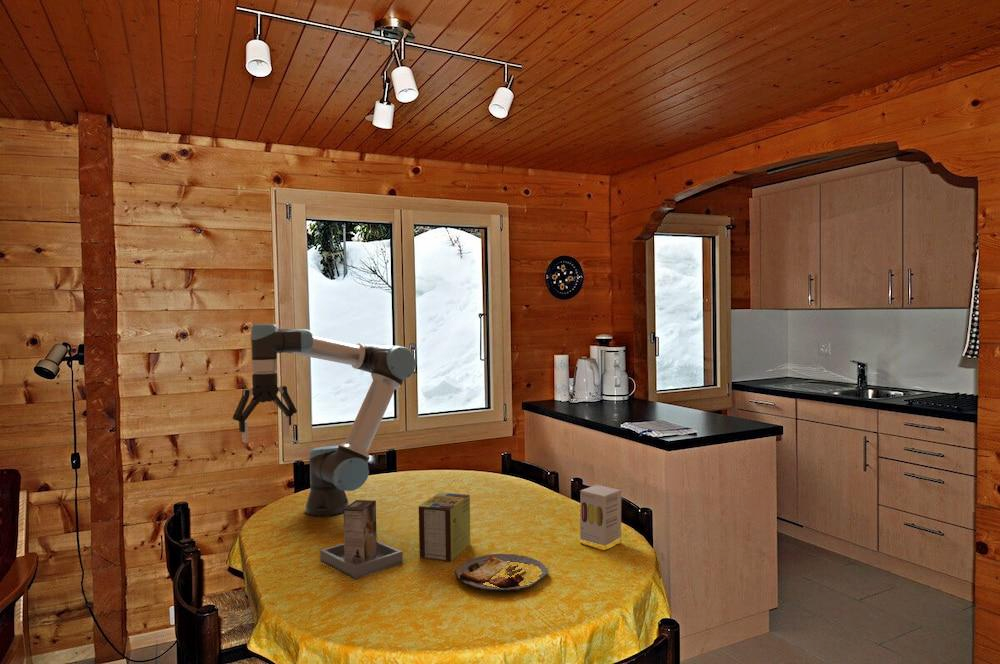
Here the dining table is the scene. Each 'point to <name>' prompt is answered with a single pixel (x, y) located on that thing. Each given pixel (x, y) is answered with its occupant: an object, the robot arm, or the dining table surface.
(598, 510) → the supplement box
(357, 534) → the coffee box
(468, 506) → the protein box
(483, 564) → the food plate
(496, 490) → the dining table surface
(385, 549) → the tray
